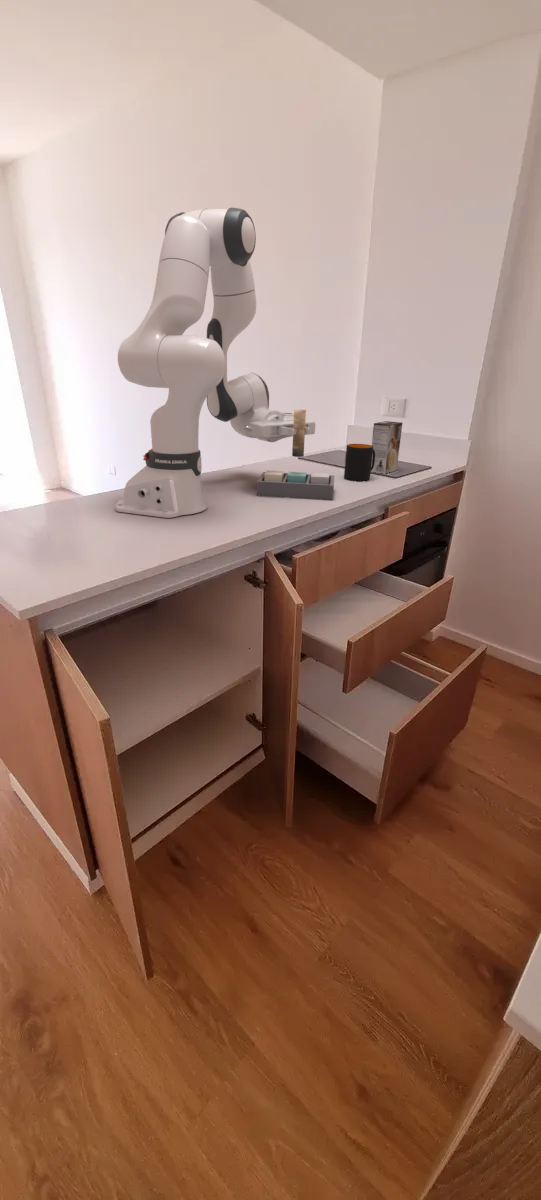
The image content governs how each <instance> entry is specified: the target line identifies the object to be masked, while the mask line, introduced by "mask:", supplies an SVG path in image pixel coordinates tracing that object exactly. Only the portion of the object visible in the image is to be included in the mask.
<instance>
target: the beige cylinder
mask: <svg viewBox="0 0 541 1200" xmlns="http://www.w3.org/2000/svg"><path fill="white" fill-rule="evenodd" d="M293 414H294V424H293V428H295V429H297V432H296V433H297V434H296V435H294V436H292V447H291V449H292V450H291V451H292V452H291V456H292V457H296V458H300V457H302V458H303V457H304V454H305V453H304V452H305V438H306V437H305V436H306V435H305V420H306V416H307V409H293Z"/></svg>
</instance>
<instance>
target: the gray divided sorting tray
mask: <svg viewBox="0 0 541 1200" xmlns="http://www.w3.org/2000/svg"><path fill="white" fill-rule="evenodd" d="M265 473H266V471H263V472H262V474H261V475H260V476H259V478H258V479H257V481H256V496H257V497H269V498H270V497H271V498H284V497H289V498H288V499H302V498H303V499H304V500H305V499H306V500H319V499H323V500H324V501H333V499H334V487H335V475H333V474H332V475H331V474H329V485H327V484H310V483H311V474H312V473H310V474H307V475H306V483H290V482H287V478H288V473H289V472H284V480H283V482H271V481H264V475H265Z"/></svg>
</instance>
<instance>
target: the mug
mask: <svg viewBox="0 0 541 1200" xmlns="http://www.w3.org/2000/svg"><path fill="white" fill-rule="evenodd" d="M372 454H373V460H372ZM374 463H375V451H374V449H373V446H372V444H364V443H349V444H347V445H346V450H345V461H344V470H343V471H344V472H343V473H344V474H343V479H344V480H345V481H349V482H355V481H356V483H357V482H358V483H359V482H361V483H363V481H365V482H368V481H370V479H371V473H372V472H371V470H372V469H373V467H374ZM371 464H372V466H371Z"/></svg>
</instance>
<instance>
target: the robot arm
mask: <svg viewBox="0 0 541 1200" xmlns="http://www.w3.org/2000/svg"><path fill="white" fill-rule="evenodd" d="M256 239H257V238H256V229H255V224H254V221H253V218H252V217H251V216H250V214H249V213H248V212H247V211H246V210H245V209H242V208H239V207H229V208H202V209H195V210H191V211H188V212H183V211H182V212H178V213H176V214H175V215H173V216H171V217H170V218H169V219H168V221H167V224H166V227H165V230H164V238H163V242H162V245H161V250H160V254H159V260H158V266H157V273H156V281H155V286H154V287H155V288H154V291H153V296H152V301H151V303H150V306H149V308H148V311H147V313H146V315H145V316H144V318H143V319H142V321H141V322H140V324H139V326H138V327H137V328H136V329H135V330H134V331H133V333H131V334H130V335H129V336H128V337H126V338H125V339H124V340H122V342H121V344H120V345H119V348H118V352H117V364H118V368H119V370H120V373H121V374H122V376H123V377H124V379H125V380H126V381H128V382H130V383H132V384H134V385H139V386H143V387H147V388H157V389H158V388H160V389H161V388H162V389H168V396H167V399H166V402H165V404H163V405H161V406H160V407H159V408H157V409H156V410H154V412H152V414H151V417H150V420H149V422H150V434H151V436H150V437H151V448H150V449H149V450H148V451H147V452H146V453H145V454H144V455H142V457H143V461H145V466H144V467H142V469H140V470H139V471H138V472H137V473H136V474H134V475H133V476H132V477H131V478H130V479H129V480H128V481H127V482H126V483H125V487H124V492H123V498H122V499H120V500H119V501H117V502H116V503H115V507H114V508H115V511H116V512H119V513H125V514H126V513H127V514H132V515H133V514H135V515H142V516H151V517H156V518H157V517H159V518H164V519H165V518H168V519H169V518H175V517H180V516H187V515H192V514H197V513H200V512H201V513H202V512H203V511H205V510H206V509H208V504H207V502H206V499H205V494H204V491H203V486H202V478H201V474H202V455H201V453H202V452H201V450H200V449H199V427H200V426H199V425H200V423H199V421H200V414H201V411H202V407H203V405H204V403H205V400H206V405H207V410H208V412H209V413H210V414H211V416H212V417H214V418H215V419H217V420H219V421H221V422H225V423H226V422H227V423H228V422H230V425H231V428H232V429H233V430H234V431H235V432H237V434H238V435H241V436H243V437H246V438H250V439H257V440H260V441H263V442H268V443H276V442H278V441H280V440H282V439H287V438H291V437H292V438H293V436H294V435H296V434H297V433H296V432H297V429H295V428H293V424H294V412H293V413H292V412H282V411H280V410H279V411H278V410H276V409H275V410H274V409H270V408H269V407H270V393H269V387H268V385H267V383H266V382H265V380H264V379H263V377H261V376H260V375H258V373H255V372H250V373H247V374H244V375H241V376H237V377H236V378H234V379H231V380H228V351H229V348H230V346H231V344H232V343H233V342H234V340H235V339H236V338H237V337H238V336H239V334H241V333H242V332H243V331H244V330H246V329H247V327H249V325H251V322H252V321H253V319H254V317H255V315H256V312H257V295H256V289H255V288H256V287H255V279H254V274H253V273H254V272H253V269H252V265H251V260H250V259H251V258H252V256H253V253H254V251H255V248H256V242H257V241H256ZM209 274H210V275H209ZM209 276H210V279H211V280H210V282H211V291H212V296H213V307H212V308H213V309H212V316H211V320H210V321H209V322H208V323H207V327H206V337H205V336H203V337H202V336H199V335H196V334H195V335H194V334H192V335H187V334H184V333H185V332H186V331H187V329H189V328H190V327H191V326H193V325H194V324H196V323H198V322H199V320H200V319H201V318H202V316H203V314H204V312H205V311H204V310H205V303H206V297H207V292H208V290H207V289H208V283H209ZM314 434H316V422H315V420H313V419H310V418H306V420H305V436H308V435H314Z"/></svg>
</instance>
